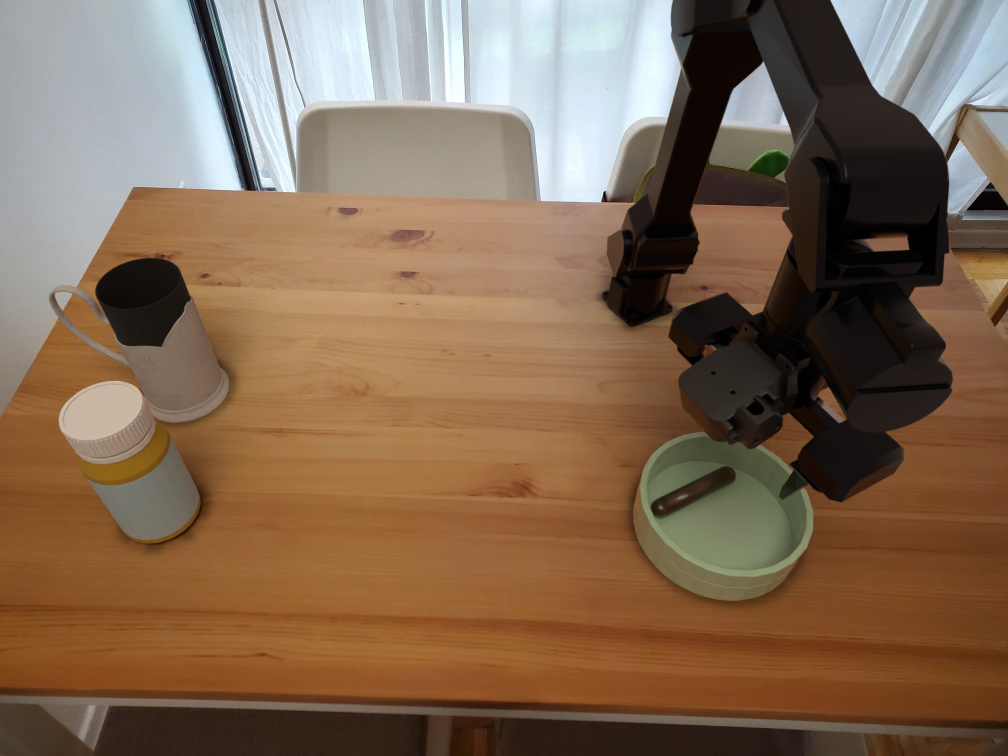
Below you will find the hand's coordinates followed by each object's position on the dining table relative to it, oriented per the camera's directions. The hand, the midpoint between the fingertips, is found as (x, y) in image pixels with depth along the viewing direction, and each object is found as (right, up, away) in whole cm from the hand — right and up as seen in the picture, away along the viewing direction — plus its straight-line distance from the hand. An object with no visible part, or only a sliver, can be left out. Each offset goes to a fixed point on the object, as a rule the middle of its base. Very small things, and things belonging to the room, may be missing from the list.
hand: (745, 454), depth 60 cm
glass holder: (-57, +5, +18) cm, 60 cm away
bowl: (0, -7, +8) cm, 11 cm away
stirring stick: (-2, -4, +9) cm, 10 cm away
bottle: (-52, -6, +7) cm, 53 cm away
